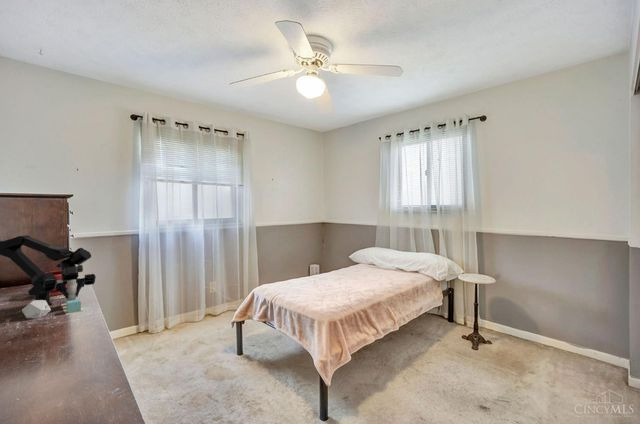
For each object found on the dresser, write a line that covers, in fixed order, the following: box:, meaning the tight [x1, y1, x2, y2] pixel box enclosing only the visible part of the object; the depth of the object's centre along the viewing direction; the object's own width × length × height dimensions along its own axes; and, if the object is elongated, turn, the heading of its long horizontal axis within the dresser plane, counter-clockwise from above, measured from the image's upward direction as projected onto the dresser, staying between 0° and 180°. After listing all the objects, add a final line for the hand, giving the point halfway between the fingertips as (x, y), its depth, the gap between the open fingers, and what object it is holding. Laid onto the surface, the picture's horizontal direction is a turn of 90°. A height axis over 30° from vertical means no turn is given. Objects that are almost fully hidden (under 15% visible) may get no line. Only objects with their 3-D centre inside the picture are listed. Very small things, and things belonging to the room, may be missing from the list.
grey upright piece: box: [60, 279, 85, 316], centre depth 137 cm, size 20×6×14 cm, turn 47°
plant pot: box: [45, 270, 67, 297], centre depth 163 cm, size 13×13×12 cm
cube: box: [66, 298, 82, 313], centre depth 133 cm, size 4×4×4 cm
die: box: [21, 299, 52, 319], centre depth 127 cm, size 8×9×10 cm
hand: (72, 297), depth 136 cm, fingers closed on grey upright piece, 3 cm apart
